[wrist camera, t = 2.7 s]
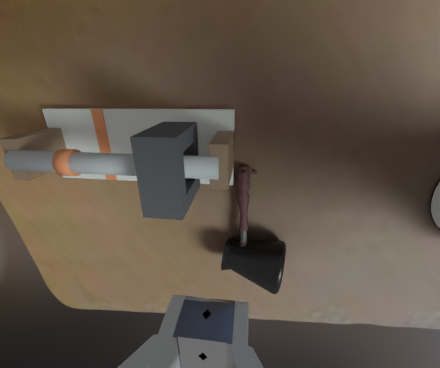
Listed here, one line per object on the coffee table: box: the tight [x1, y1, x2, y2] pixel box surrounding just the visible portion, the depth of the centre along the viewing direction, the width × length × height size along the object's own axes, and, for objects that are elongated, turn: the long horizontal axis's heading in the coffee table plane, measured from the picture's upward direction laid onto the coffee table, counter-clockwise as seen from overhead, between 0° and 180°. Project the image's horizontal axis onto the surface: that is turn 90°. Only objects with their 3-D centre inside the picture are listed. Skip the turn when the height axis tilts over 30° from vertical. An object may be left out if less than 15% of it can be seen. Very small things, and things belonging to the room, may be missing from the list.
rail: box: [0, 108, 235, 190], centre depth 28 cm, size 26×10×10 cm, turn 91°
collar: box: [130, 122, 200, 220], centre depth 25 cm, size 4×8×8 cm, turn 1°
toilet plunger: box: [221, 165, 286, 294], centre depth 33 cm, size 8×18×8 cm
